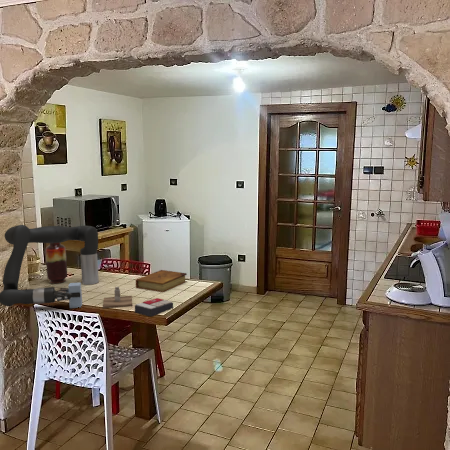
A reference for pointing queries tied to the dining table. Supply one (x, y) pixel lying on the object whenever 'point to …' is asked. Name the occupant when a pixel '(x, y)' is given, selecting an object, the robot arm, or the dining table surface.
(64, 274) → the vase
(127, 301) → the post stand
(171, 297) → the dining table surface
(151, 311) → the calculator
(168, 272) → the diary
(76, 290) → the blue-grey rectangular block
